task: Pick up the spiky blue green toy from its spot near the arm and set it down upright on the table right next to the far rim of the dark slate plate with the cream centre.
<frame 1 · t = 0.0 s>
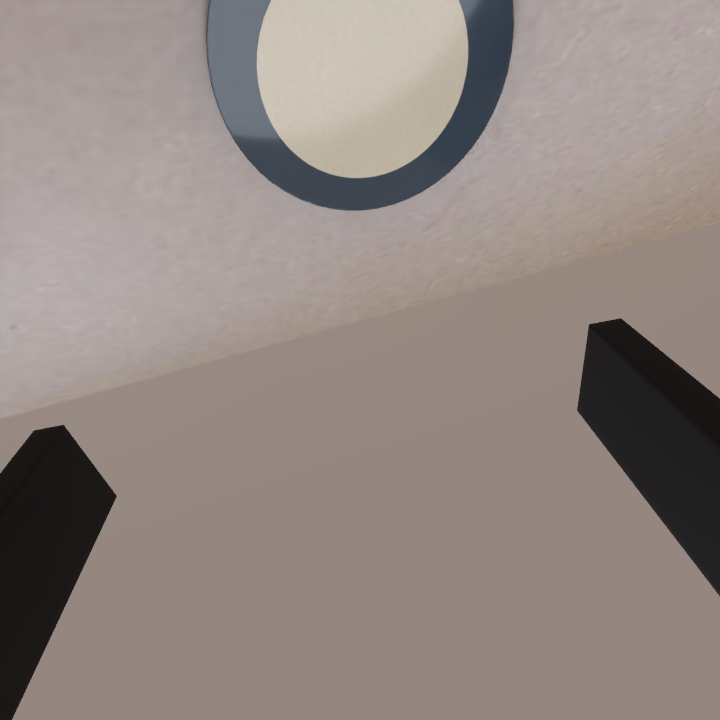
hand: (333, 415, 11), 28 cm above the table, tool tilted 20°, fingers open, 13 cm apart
plate: (361, 71, 30), on the table
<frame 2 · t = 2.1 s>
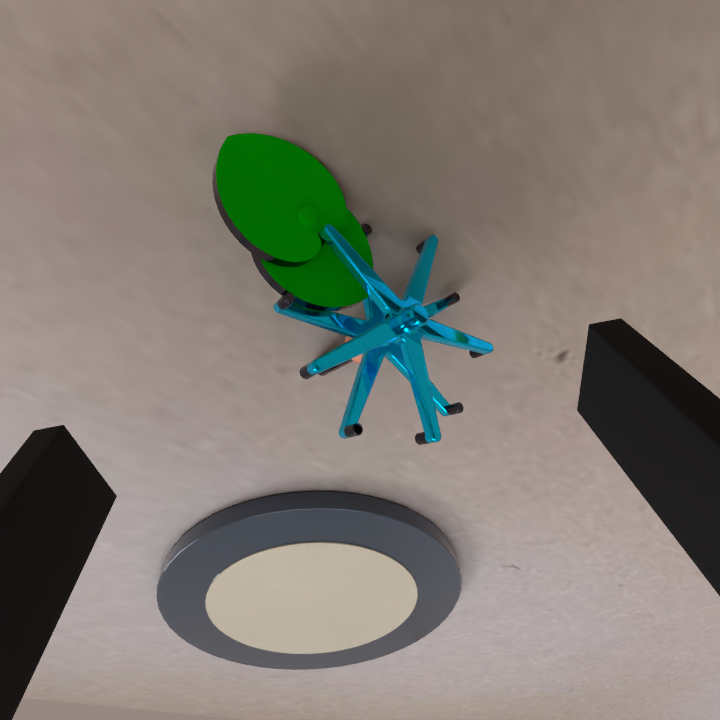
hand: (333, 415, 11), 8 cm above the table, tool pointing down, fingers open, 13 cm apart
spiky blue green toy: (334, 279, 18), on the table
plate: (314, 586, 30), on the table
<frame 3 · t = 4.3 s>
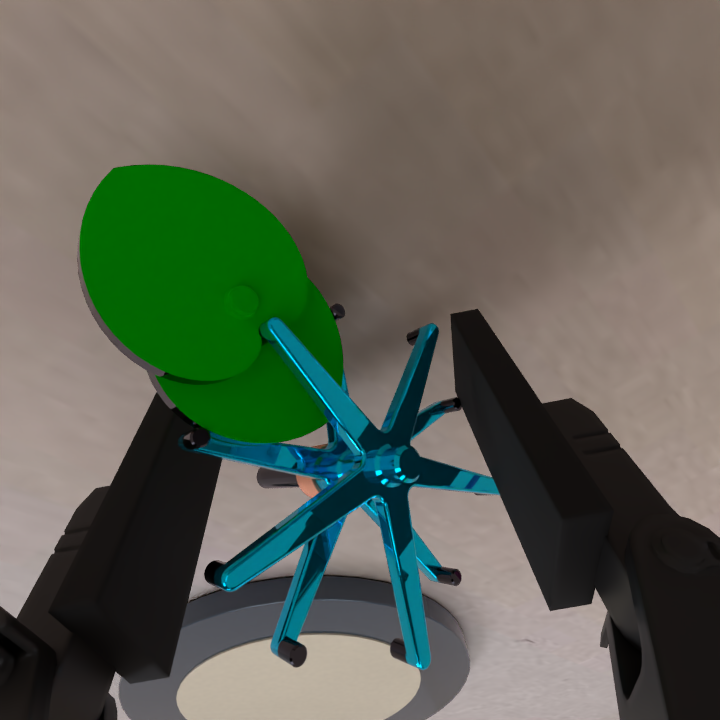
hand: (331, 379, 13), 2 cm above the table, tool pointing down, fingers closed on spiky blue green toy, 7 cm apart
spiky blue green toy: (289, 367, 13), point 2 cm above the table, touching gripper
plate: (302, 671, 27), on the table
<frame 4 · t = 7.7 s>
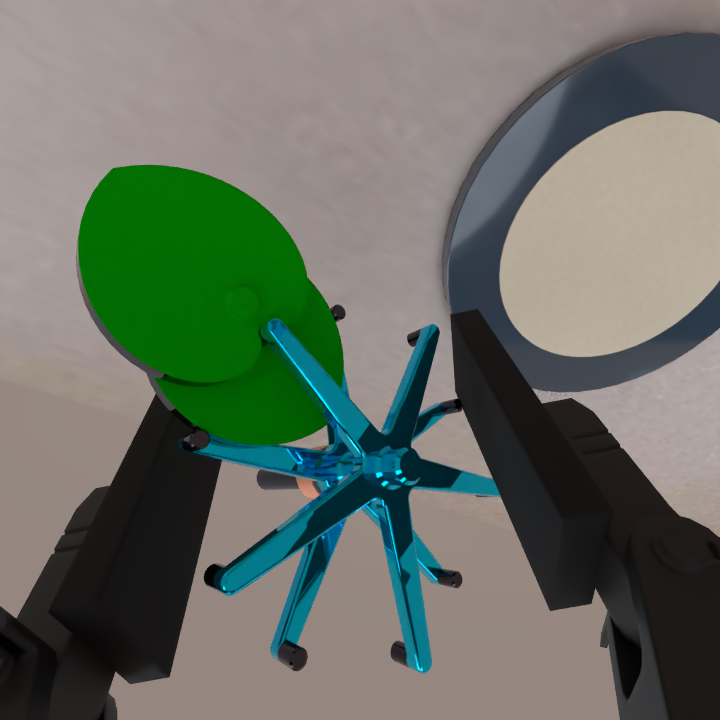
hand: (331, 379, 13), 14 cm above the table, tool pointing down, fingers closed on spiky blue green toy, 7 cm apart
spiky blue green toy: (289, 368, 13), point 13 cm above the table, touching gripper
plate: (609, 245, 26), on the table
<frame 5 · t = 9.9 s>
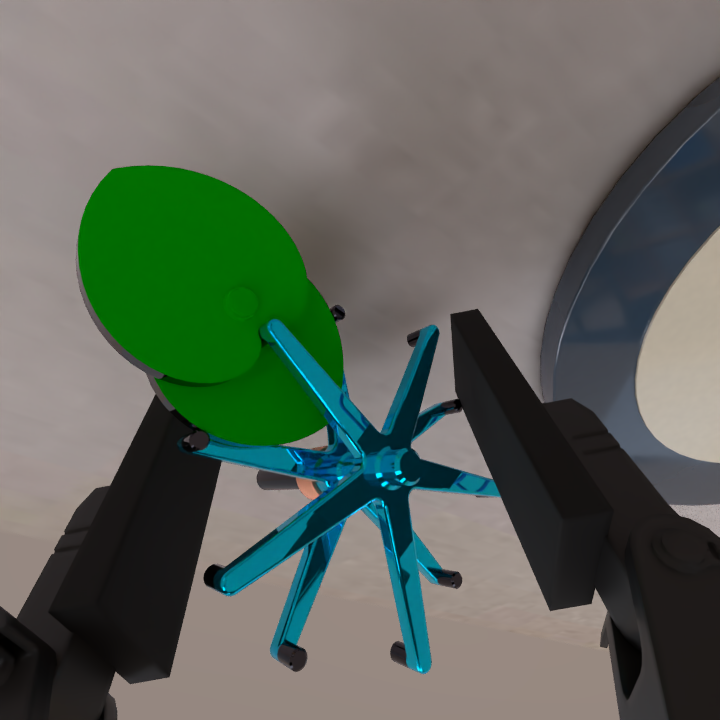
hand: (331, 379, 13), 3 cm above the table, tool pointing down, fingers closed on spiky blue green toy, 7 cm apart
spiky blue green toy: (289, 368, 13), point 3 cm above the table, touching gripper
when the fingers open (0 cm above the table, at t = 11.3 s): spiky blue green toy stays where it is, on the table.
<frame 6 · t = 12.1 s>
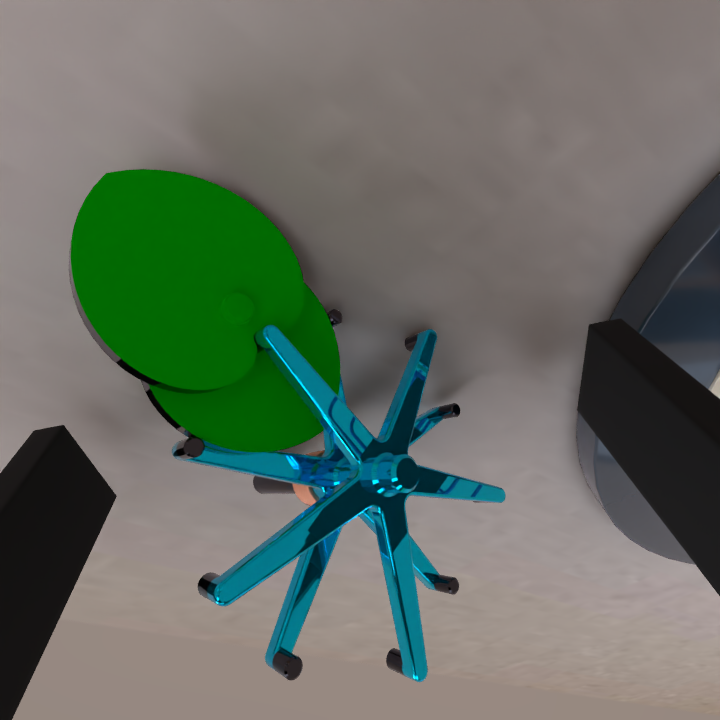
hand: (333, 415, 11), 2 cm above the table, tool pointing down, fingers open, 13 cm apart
spiky blue green toy: (286, 372, 13), on the table
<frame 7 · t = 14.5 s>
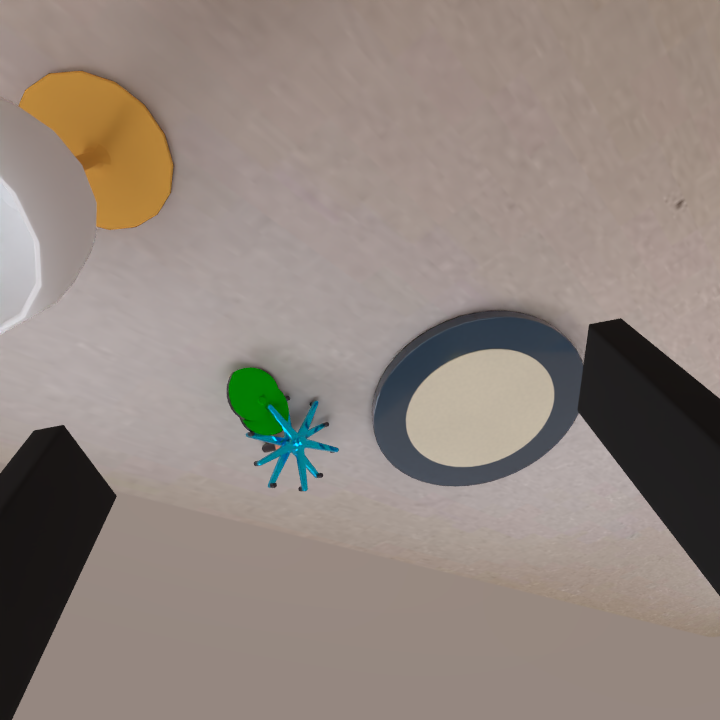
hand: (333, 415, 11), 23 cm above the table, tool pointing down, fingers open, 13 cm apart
cup: (99, 156, 28), on the table
spiky blue green toy: (273, 412, 40), on the table
plate: (475, 404, 42), on the table
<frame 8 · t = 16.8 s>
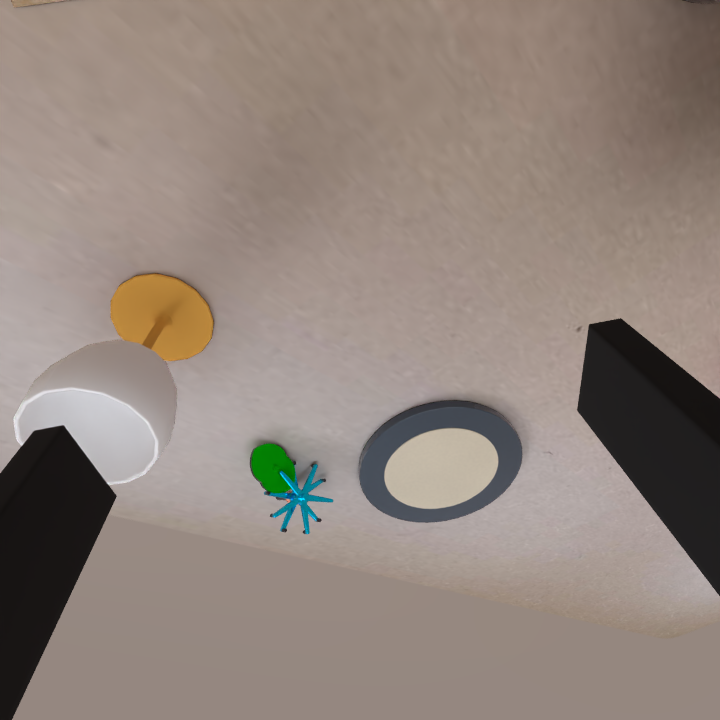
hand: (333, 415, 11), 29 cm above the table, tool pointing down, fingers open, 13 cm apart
cup: (164, 318, 41), on the table
spiky blue green toy: (284, 471, 53), on the table
plate: (438, 463, 54), on the table
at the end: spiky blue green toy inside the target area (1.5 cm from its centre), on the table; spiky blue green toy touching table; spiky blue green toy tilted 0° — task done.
